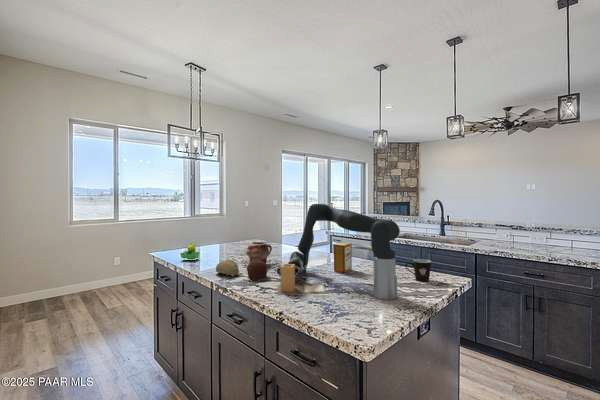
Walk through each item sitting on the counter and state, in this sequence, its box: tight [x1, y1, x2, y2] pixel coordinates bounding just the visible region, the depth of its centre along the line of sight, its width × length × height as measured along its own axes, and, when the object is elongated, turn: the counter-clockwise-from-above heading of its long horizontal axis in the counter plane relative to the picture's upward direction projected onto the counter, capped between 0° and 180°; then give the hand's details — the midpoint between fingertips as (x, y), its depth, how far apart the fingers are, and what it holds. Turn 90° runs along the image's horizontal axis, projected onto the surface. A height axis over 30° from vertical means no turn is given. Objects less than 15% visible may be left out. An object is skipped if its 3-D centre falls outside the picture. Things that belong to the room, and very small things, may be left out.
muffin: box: [246, 260, 269, 281], centre depth 160 cm, size 12×11×10 cm
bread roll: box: [215, 259, 240, 276], centre depth 172 cm, size 10×15×8 cm, turn 59°
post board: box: [276, 283, 328, 296], centre depth 139 cm, size 22×14×10 cm, turn 92°
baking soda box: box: [333, 242, 353, 274], centre depth 177 cm, size 10×6×16 cm
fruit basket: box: [179, 242, 201, 259], centre depth 210 cm, size 11×9×11 cm
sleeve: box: [280, 263, 296, 292], centre depth 139 cm, size 6×6×11 cm
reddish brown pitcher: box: [245, 241, 273, 264], centre depth 195 cm, size 20×12×14 cm, turn 141°
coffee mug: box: [405, 258, 432, 283], centre depth 158 cm, size 12×9×10 cm
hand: (289, 274), depth 143 cm, fingers open, 8 cm apart
